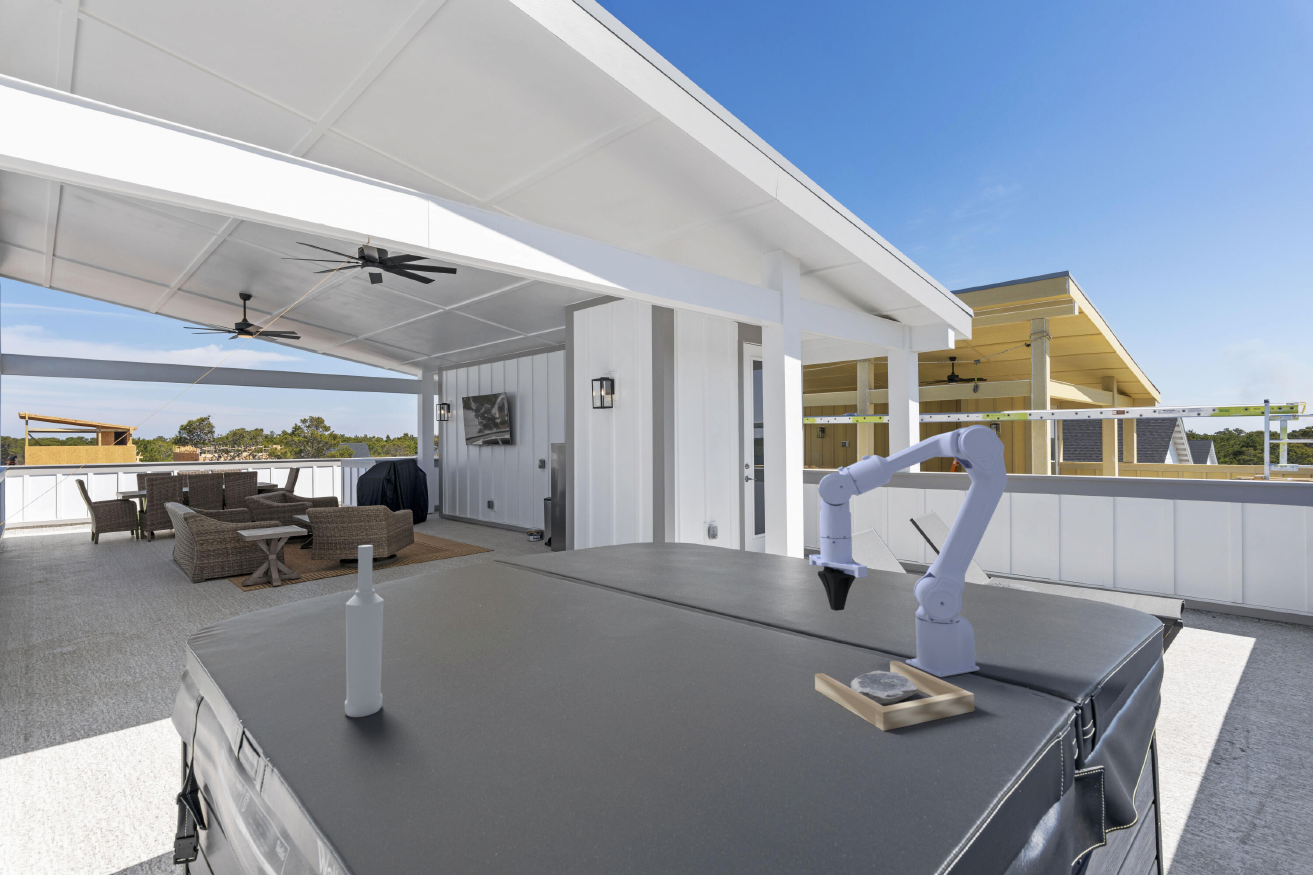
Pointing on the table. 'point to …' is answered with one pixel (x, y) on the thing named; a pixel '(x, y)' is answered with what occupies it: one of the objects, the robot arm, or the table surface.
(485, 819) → the table surface
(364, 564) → the bottle
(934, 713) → the bay
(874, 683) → the fossil
